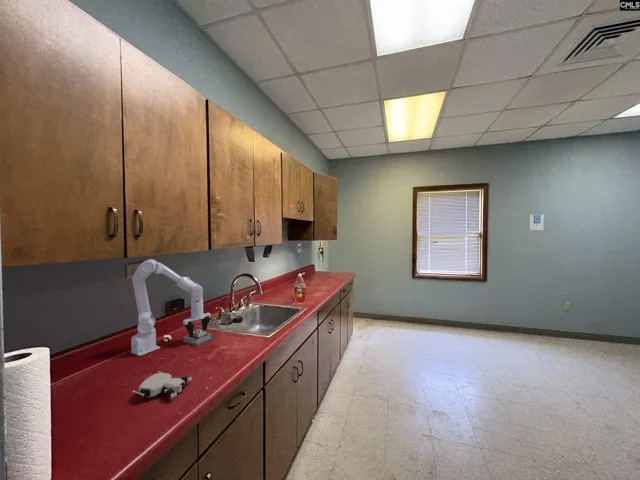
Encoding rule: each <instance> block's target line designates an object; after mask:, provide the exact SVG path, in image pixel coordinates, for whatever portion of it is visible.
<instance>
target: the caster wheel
mask: <svg viewBox="0 0 640 480" xmlns="http://www.w3.org/2000/svg"><path fill="white" fill-rule="evenodd" d="M243 320H244V318H243V316H240V315H238V314H236V313H235V312H232V311H231V312H230V311H229V312H224V311H222V313H221V318H220V321H219V322H220V323H221V324H224V325H226V326H229V325H230V323H231V324H233V323H234V324H241V323H243Z"/></svg>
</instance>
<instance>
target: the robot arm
mask: <svg viewBox="0 0 640 480" xmlns="http://www.w3.org/2000/svg"><path fill="white" fill-rule="evenodd" d="M153 273H154V274H162V275H163V276H166V277H167V278H169V279H170V280H173V281H174V282H176V286H177V287H179V288H180V289H181V290H183V291H185V292H186V293H188V294H189V293H190V296H191V300H190V309H191V310H190V312H191V313H190V317H188V318H186V319H184V320H183V322H182V323H183V325H184V327H185V328H186V330H187V333H188V335H189V336H190V337H193V331H194V327H195V324H194V322H196V321H201V328H202V329H201V330H205V331H206V332H207V329H208V325H209V323H210V321H211V313H210V312H207V313H204V299H203V297H204V295H203V294H204V290H203V287H202V286H201V284H198V282H194V281H192V280H191V279H190V277H189V276H180V275H179V274H177V272H175V271H173V269H171V268H169V267H168V266H167V265H165V264H163V263H161V262H159V261H157V260H156V259H152V258H151V259H147V260H144V261H143V262H141V263H140V264H139V265H138V266H137V268H136V270H135V272H134V274H133V275H132V277H131V280H132V286H133V293H134V296H135V302H136V308H137V312H138V313H137V314H138V315H137V317H138V319H137V320H138V324H137V328H136V329H137V333H136V334H135V335H133V336H132V337H131V341H130V342H131V345H130V346H131V351H130V353H131V354H134V355H136V356H139V357H140V356H143V355H145V354H148V353H150V352H151V353H152V352H153V351H156V350H159V349H160V348H161V346H159V345H157V330H156V328H155V324H156V320H157V319H156V318H155V317H154V316H153V312H152V310H151V307H150V306H151V305H150V301H149V295H148V289H147V283H146V279H147V278H148V277H149V275H151V274H153Z"/></svg>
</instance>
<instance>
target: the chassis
mask: <svg viewBox="0 0 640 480" xmlns="http://www.w3.org/2000/svg"><path fill="white" fill-rule="evenodd" d="M183 338H184V339H183V340H182V341H181V342H182V343H183V344H187V345H189V346H190V345H191V346H194V347H199V346H201V345H203V344H206V343H208V342H211V341H213V340H214V339H215V338H214V337H212V334H211V333H209V332H206V336H204V337H202V338H199V339H193V338H191V337H190V336H189V334H187V335H186V336H185V335H184V337H183Z"/></svg>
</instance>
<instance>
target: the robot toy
mask: <svg viewBox="0 0 640 480" xmlns="http://www.w3.org/2000/svg"><path fill="white" fill-rule="evenodd" d="M192 380H193V377H192V376H189V377H188V376H181V377H174V378H173V377H172V375H171V374H170V373H169V372H168V373H167V372H162V371H157V373H154V374H152V375H150V376H149V377H148V378H145V379H144V380H143V382H142V383H140V385H139V386H138V391H136V390H132V393H135V394H138V395H139V396H140V397H144V398H145V397H146V398H152V397H156V396H157V395H159V394H160V393H163V394H165V395H166V397H167V398H172V399H173V398H175V397H177V395H178V394H179V393H181V392H182V391H184V390H185V388H186V384H187V382H191V381H192Z"/></svg>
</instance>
